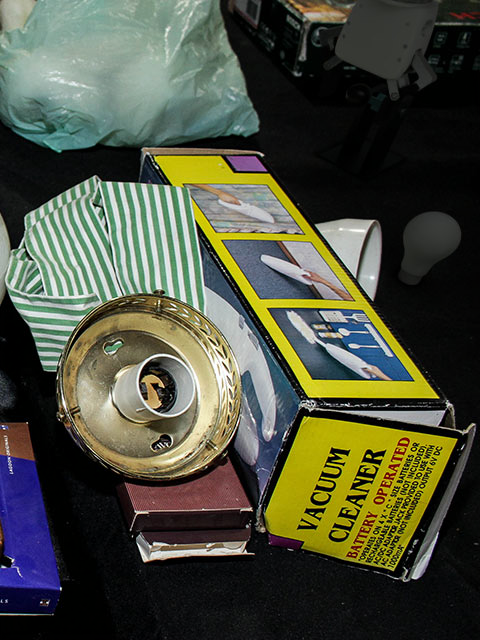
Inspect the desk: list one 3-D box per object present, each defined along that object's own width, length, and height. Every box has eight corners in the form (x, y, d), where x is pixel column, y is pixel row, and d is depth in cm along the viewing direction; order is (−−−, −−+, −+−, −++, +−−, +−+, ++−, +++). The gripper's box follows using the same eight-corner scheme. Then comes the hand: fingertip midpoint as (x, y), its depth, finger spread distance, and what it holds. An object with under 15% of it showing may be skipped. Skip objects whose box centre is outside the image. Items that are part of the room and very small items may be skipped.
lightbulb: (433, 280, 115) (473, 211, 107) (426, 306, 111) (467, 237, 104) (383, 264, 117) (419, 196, 110) (375, 289, 113) (411, 220, 106)
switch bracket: (362, 185, 131) (394, 114, 123) (316, 161, 136) (344, 91, 128) (401, 165, 135) (435, 95, 127) (355, 142, 140) (385, 74, 132)
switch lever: (357, 109, 121) (371, 87, 119) (337, 99, 123) (350, 78, 121) (391, 120, 129) (404, 100, 128) (371, 111, 131) (385, 91, 130)
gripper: (487, 1, 108) (426, 127, 120) (362, -43, 118) (316, 76, 130) (453, 15, 105) (393, 143, 117) (327, -32, 115) (284, 89, 127)
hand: (353, 107), depth 123 cm, fingers open, 8 cm apart
